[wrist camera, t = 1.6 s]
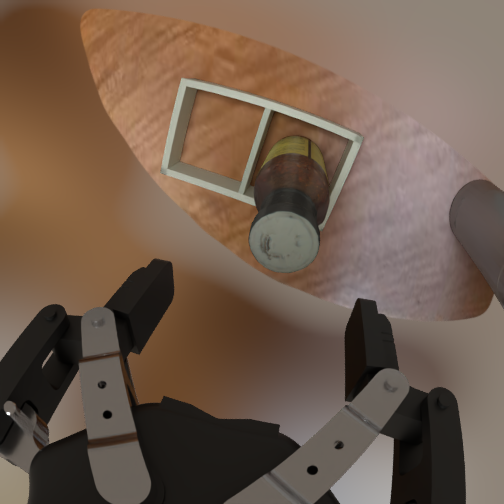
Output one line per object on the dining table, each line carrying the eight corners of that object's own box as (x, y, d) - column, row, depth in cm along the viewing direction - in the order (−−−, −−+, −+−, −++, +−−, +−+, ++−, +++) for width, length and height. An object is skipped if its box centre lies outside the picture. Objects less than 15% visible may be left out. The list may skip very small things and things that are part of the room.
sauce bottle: (260, 167, 35) (201, 252, 18) (287, 123, 31) (249, 163, 15) (307, 196, 35) (294, 304, 18) (336, 154, 32) (356, 230, 15)
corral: (359, 133, 30) (363, 137, 27) (321, 219, 36) (321, 231, 33) (193, 78, 30) (181, 78, 27) (173, 165, 37) (160, 172, 34)
